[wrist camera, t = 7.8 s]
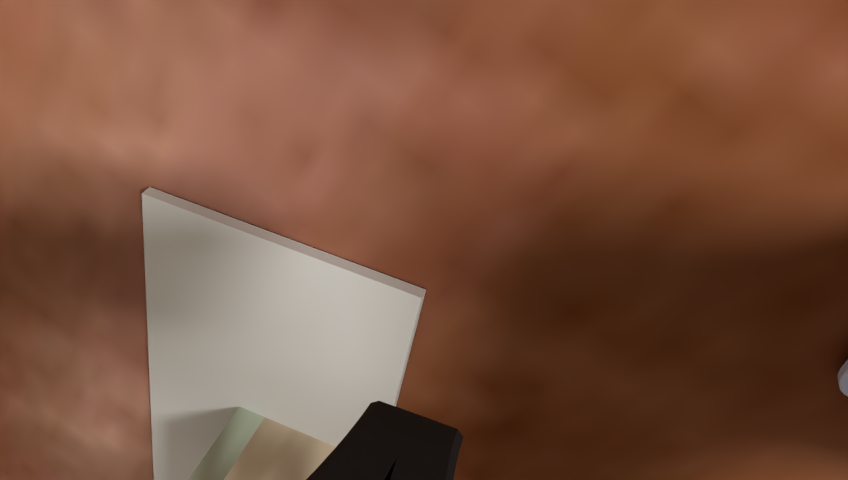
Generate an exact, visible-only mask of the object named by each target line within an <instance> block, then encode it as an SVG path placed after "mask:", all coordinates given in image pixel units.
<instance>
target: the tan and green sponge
mask: <svg viewBox="0 0 848 480" xmlns="http://www.w3.org/2000/svg"><path fill="white" fill-rule="evenodd" d="M335 448H336V447H335V446H333V445H330V444H328V443H325V442H323V441H321V440H318V439H316V438H313V437H311V436H309V435H306V434H304V433H302V432H299V431H297V430H294V429H292V428H290V427H287V426H285V425H282V424H280V423H278V422H275V421H273V420H271V419H268V418H266V417H263V416H261V415H259V414H256V413H254V412H251V411H249V410H247V409H244V408H242V407H240V406H239V408H238V409H237V411H236V412H235V413H234V415H233V416H232V418H231V419H230V421H229V422H228V423H227V425H226V426H225V428H224V429H223V431H222V432H221V433H220V435H219V436H218V438H217V439H216V441H215V442H214V443H213V445H212V446H211V448H210V449H209V451H208V452H207V453H206V455H205V456H204V458H203V459H202V460H201V462H200V463H199V465H198V466H197V468H196V469H195V470H194V472H193V473H192V475H191V476H190V478H189V479H188V480H306V479H307V478H308V477H309V476H310V475H311V474H312V473H313V472H314V471H315V470H316V469H317V468H318V467H319V465H320V464H321V463H322V462H323V461H324V460H325V459H326V458H327V457H328V455H329V454H330V453H331V452H332V451H333V450H334V449H335Z"/></svg>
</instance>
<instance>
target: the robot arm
mask: <svg viewBox="0 0 848 480" xmlns="http://www.w3.org/2000/svg"><path fill="white" fill-rule="evenodd" d="M837 376H838V382H839V388H840V390H841V391H842V393H843V394H844V395H846V396H848V359H847V361H846V362H845V363H844V365H843V366H842V367H841V368H840V370H839V372H838V375H837ZM462 439H463V436H462V435H461V433H460V432H459V431H458V429H455V428H453V427H450V426H447V425H444V424H442V423H439V422H436V421H434V420H431V419H428V418H425V417H423V416H420V415H417V414H414V413H412V412H409V411H406V410H403V409H401V408H398V407H395V406H392V405H390V404H387V403H384V402H382V401H376V402H372V403H370V405H369V406H368V407H367V409H366V410H365V412H364V413H363V414H362V416H361V417H360V418H359V420H358V421H357V422H356V424H355V425H354V426H353V427H352V429H351V430H350V431H349V432H348V434H347V435H346V436H345V437H344V438H343V440H342V441H341V442H340V443H339V444H338V445H337V447H336V448H335V449H334V450H333V451H332V452H331V453H330V454H329V455H328V457H327V458H326V459H325V460H324V461H323V462H322V463H321V464H320V465H319V467H318V468H317V469H316V470H315V471H314V472H313V473H312V474H311V475H310V476H309V477H308V478H307V479H306V480H453V477H454V471H455V466H456V461H457V457H458V452H459V449H460V446H461V442H462Z"/></svg>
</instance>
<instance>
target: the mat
mask: <svg viewBox="0 0 848 480" xmlns="http://www.w3.org/2000/svg"><path fill="white" fill-rule="evenodd" d="M142 212H143V236H144V260H145V283H146V307H147V331H148V355H149V378H150V402H151V426H152V449H153V473H154V480H188V479H189V478H190V476H191V475H192V473H193V472H194V470H195V469H196V468H197V466H198V465H199V463H200V462H201V460H202V459H203V458H204V456H205V455H206V453H207V452H208V451H209V449H210V448H211V446H212V445H213V443H214V442H215V441H216V439H217V438H218V436H219V435H220V433H221V432H222V431H223V429H224V428H225V426H226V425H227V423H228V422H229V421H230V419H231V418H232V416H233V415H234V413H235V412H236V411H237V409H238V408H239V406H240V407H242V408H244V409H247V410H249V411H251V412H254V413H256V414H259V415H261V416H263V417H266V418H268V419H271V420H273V421H275V422H278V423H280V424H282V425H285V426H287V427H290V428H292V429H294V430H297V431H299V432H302V433H304V434H306V435H309V436H311V437H313V438H316V439H318V440H321V441H323V442H325V443H328V444H330V445H333V446H335V447H337V445H338V444H339V443H340V442H341V441H342V440H343V438H344V437H345V436H346V435H347V434H348V432H349V431H350V430H351V429H352V427H353V426H354V425H355V424H356V422H357V421H358V420H359V418H360V417H361V416H362V414H363V413H364V412H365V410H366V409H367V407H368V406H369V405H370V403H372V402H376V401H382V402H384V403H387V404H390V405H392V406H395V407H396V404H397V400H398V397H399V393H400V389H401V385H402V381H403V377H404V374H405V370H406V366H407V362H408V358H409V354H410V350H411V347H412V343H413V339H414V335H415V331H416V327H417V323H418V320H419V316H420V312H421V308H422V304H423V300H424V296H425V293H426V289H423V288H420V287H418V286H415V285H412V284H410V283H407V282H404V281H402V280H399V279H396V278H393V277H391V276H388V275H385V274H383V273H380V272H377V271H375V270H372V269H369V268H367V267H364V266H361V265H358V264H356V263H353V262H350V261H348V260H345V259H342V258H340V257H337V256H334V255H332V254H329V253H326V252H324V251H321V250H318V249H315V248H313V247H310V246H307V245H305V244H302V243H299V242H297V241H294V240H291V239H289V238H286V237H283V236H280V235H278V234H275V233H272V232H270V231H267V230H264V229H262V228H259V227H256V226H254V225H251V224H248V223H246V222H243V221H240V220H237V219H235V218H232V217H229V216H227V215H224V214H221V213H219V212H216V211H213V210H211V209H208V208H205V207H202V206H200V205H197V204H194V203H192V202H189V201H186V200H184V199H181V198H178V197H176V196H173V195H170V194H168V193H165V192H162V191H159V190H157V189H154V188H151V187H149V188H148V189H146V190H145V191H144V192H143V193H142Z"/></svg>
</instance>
